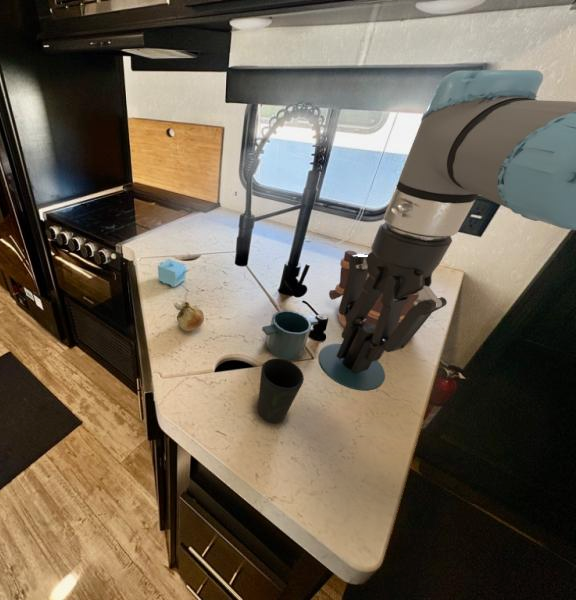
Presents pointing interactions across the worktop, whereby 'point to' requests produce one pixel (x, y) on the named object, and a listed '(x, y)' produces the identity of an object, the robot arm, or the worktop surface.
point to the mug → (377, 307)
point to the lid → (352, 363)
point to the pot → (288, 334)
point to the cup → (278, 389)
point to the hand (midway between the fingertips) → (351, 362)
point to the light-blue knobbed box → (172, 272)
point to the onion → (189, 316)
